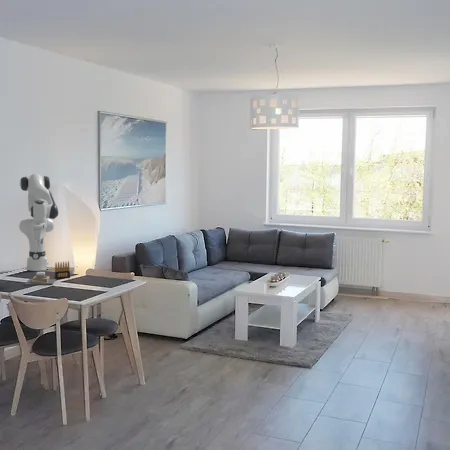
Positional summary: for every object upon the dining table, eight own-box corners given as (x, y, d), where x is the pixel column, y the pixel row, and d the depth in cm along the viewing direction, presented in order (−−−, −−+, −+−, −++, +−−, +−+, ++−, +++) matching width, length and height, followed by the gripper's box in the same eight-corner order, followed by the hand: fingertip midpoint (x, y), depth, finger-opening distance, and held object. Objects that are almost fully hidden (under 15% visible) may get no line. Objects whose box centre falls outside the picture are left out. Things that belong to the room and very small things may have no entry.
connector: (37, 280, 407) (37, 271, 406) (45, 280, 408) (45, 271, 407) (36, 281, 403) (36, 273, 402) (43, 281, 404) (43, 273, 403)
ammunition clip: (69, 277, 425) (69, 260, 424) (70, 277, 423) (70, 261, 422) (54, 278, 420) (54, 261, 418) (55, 279, 418) (55, 262, 417)
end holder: (30, 280, 412) (29, 275, 412) (56, 280, 414) (56, 275, 414) (24, 285, 396) (24, 279, 396) (52, 285, 398) (52, 279, 398)
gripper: (38, 222, 411) (38, 242, 412) (32, 226, 390) (32, 247, 392) (47, 223, 411) (48, 242, 413) (41, 226, 391) (42, 247, 393)
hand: (40, 244), depth 402 cm, fingers open, 8 cm apart
